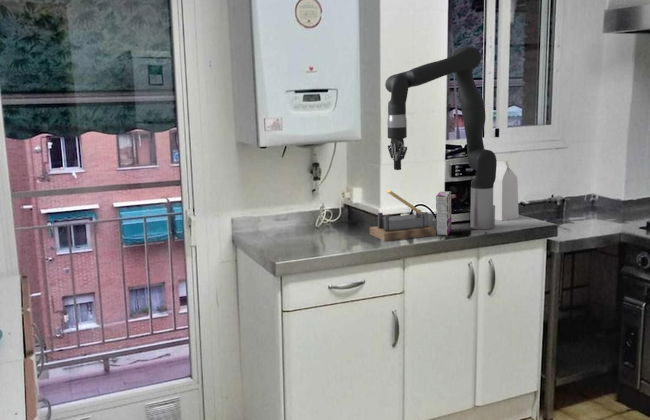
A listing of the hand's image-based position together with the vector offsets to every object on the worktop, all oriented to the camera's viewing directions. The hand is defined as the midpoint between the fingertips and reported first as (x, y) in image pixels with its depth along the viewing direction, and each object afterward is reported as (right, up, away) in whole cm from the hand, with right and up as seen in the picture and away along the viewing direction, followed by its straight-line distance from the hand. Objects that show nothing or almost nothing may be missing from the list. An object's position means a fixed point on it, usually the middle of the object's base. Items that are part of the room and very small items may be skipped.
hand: (397, 169), depth 243 cm
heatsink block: (+3, -23, +5) cm, 24 cm away
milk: (+51, -20, +35) cm, 65 cm away
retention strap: (+4, -14, +4) cm, 15 cm away
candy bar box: (+20, -26, +7) cm, 33 cm away
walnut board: (+3, -26, +5) cm, 27 cm away
